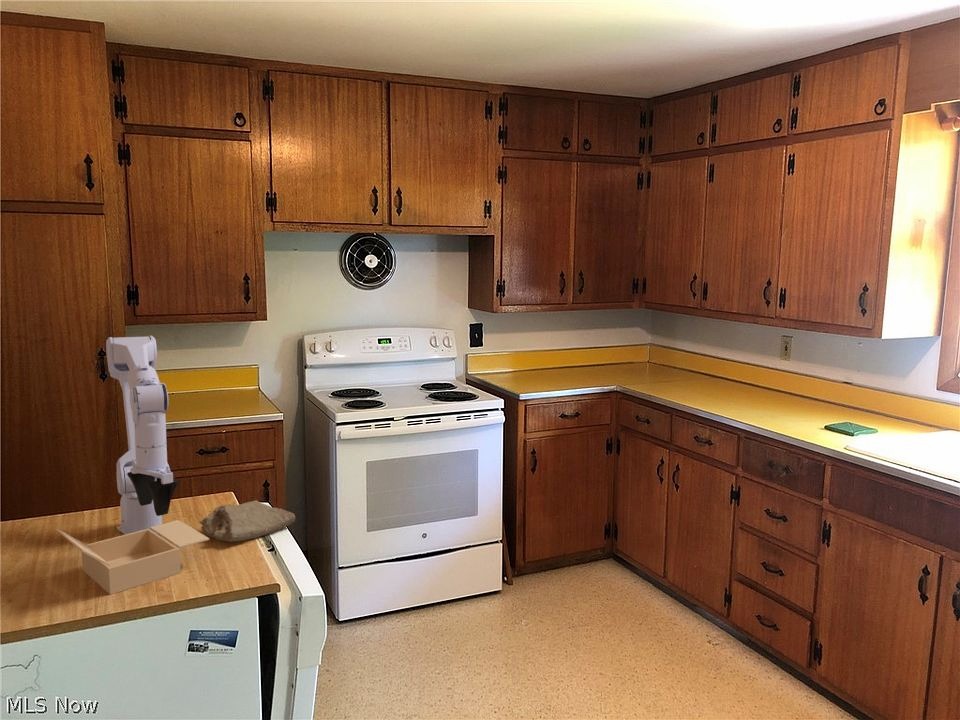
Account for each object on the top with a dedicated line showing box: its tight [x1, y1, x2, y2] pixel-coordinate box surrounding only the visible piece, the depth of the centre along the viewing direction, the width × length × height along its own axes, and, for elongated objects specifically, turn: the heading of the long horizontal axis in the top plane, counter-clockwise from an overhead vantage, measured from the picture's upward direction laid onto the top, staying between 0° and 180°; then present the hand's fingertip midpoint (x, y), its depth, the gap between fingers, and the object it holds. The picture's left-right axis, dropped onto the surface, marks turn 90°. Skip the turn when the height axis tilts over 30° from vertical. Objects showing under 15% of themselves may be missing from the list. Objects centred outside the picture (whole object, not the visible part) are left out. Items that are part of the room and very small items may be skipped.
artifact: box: [199, 499, 296, 542], centre depth 165 cm, size 18×7×15 cm
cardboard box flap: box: [55, 528, 110, 566], centre depth 136 cm, size 14×6×1 cm
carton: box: [80, 519, 210, 596], centre depth 145 cm, size 14×19×5 cm
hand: (153, 509), depth 148 cm, fingers open, 7 cm apart
